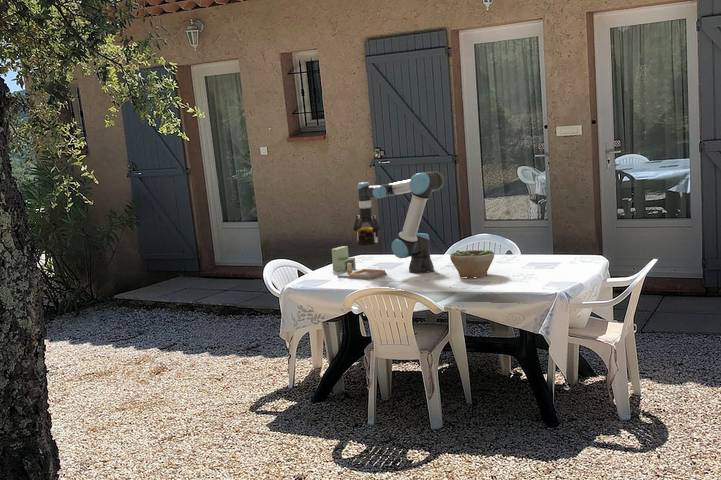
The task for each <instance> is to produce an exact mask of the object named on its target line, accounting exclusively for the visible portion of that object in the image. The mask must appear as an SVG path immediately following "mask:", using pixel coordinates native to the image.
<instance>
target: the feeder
mask: <svg viewBox="0 0 721 480" xmlns="http://www.w3.org/2000/svg"><path fill="white" fill-rule="evenodd" d="M331 259H332V261H331V262H332V271H333V272H341V271H342V272H343V273H346V272H348V271H347V263H352V270H354V269H356V266H357V265H356V257H355V256H354V257H352V256H351V257H350V256H349V247H348V245H345V246H343V245H342V246H338V247H335V248H331Z"/></svg>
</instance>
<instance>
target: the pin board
mask: <svg viewBox="0 0 721 480" xmlns="http://www.w3.org/2000/svg"><path fill="white" fill-rule="evenodd" d="M387 274H388V273H387V271H386V269H374V268H373V269H372V268H371V269H370V268H362V269H359V270H354V269H352V263H347V271H345V272H343V273H341V274H338V275H337V278H341V277H344V278H343V279H355V280H356V279H358V280H359V279H360V280H375V279H377V278H380V277H384V276H387Z"/></svg>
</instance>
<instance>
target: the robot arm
mask: <svg viewBox="0 0 721 480" xmlns="http://www.w3.org/2000/svg"><path fill="white" fill-rule="evenodd" d="M444 183H445V179H444V176H443V174H442V173H440V172H439V171H434V170H432V171H431V170H430V171H427V172H419V173H416V174H413V175H412V176H411V178H410V179H406V180H401V181H396V182H392V183H386V184H377V185H371V183H370V182H369V181H366V182H365V181H363V182H358V184H357V194H358V195H357V196H358V206H359V210H358V211H359V215H358V214H357V215H355V222H354V225H353V229H352V230H353V231H355V232H356V237H357V238H356V239H358V229H360V228H363V225H364V224H365V223H367V224H369V225H370V227H372V228H373V230H374V231H375V232H374V243H376V242H377V243H378V242H379V241H378V237H379V232H380V231H381V226H380V224H379V221H378V219H377V215H376V214H375V215H373V214H372V212H373V211H372V210H373V209H372V199H384V198H386V197H391V196H393V197H394V196H396V195H403V194H407V193H410V194H411V200H410V202H409V206H408V210H407V213H406V218H405V221H404V224H403V228H402V231H399V233H398V235H397V238H396V239H393V241H392V243H391V250H392V252H393V255H394V256H395V257H396V258H399V259H407V258H411V259H410V263H409V266H408V271H409V273H413V274H414V273H415V274H424V273H430V272H434V271H435V266H434V263H433V261H432V259H431V243H430V242H431V241H430V240H431V239H430V236H429V234H428V233H421V232H419V233H418V230H419V227H420V223H421V221H422V217H423V214H424V210H425V206H426V204H427V200H429V199H430V198H431V197H432V193H433V192H437V191H439V190H441V189H442V188H443V187H444ZM377 243H376V244H377Z"/></svg>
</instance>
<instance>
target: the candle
mask: <svg viewBox="0 0 721 480" xmlns="http://www.w3.org/2000/svg"><path fill="white" fill-rule="evenodd" d="M374 232H375V231H374V230H373V228H372V227H371V226H370V227H361V228H360V229H358V238H357V243H358V246H375V245H376V244H377V243H378V242H376V243H374Z"/></svg>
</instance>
